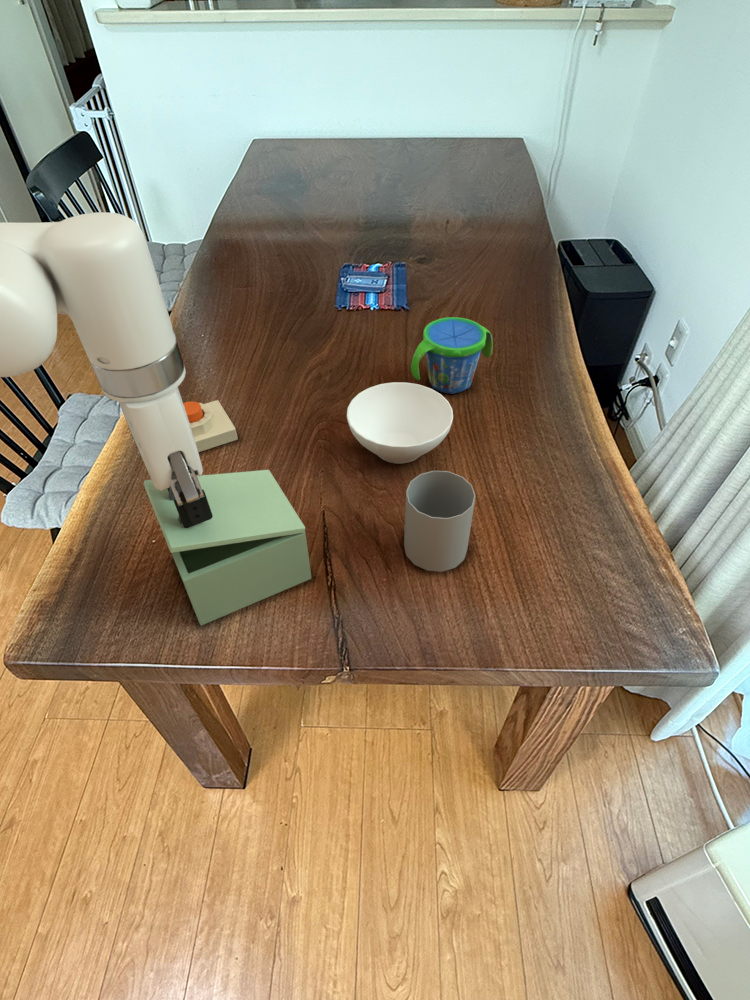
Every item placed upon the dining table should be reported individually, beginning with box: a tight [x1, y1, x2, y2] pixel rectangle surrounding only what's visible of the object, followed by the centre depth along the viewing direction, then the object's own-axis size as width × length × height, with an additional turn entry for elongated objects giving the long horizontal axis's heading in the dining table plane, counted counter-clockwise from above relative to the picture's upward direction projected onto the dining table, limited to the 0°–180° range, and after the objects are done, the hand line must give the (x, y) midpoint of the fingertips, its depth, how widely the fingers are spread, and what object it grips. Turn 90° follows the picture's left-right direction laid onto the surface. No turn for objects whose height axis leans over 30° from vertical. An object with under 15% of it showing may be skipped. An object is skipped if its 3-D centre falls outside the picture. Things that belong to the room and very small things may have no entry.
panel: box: [190, 399, 239, 453], centre depth 96 cm, size 11×9×4 cm
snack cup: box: [410, 316, 494, 395], centre depth 103 cm, size 16×10×10 cm
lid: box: [143, 469, 306, 554], centre depth 68 cm, size 15×12×6 cm
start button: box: [183, 400, 203, 423], centre depth 94 cm, size 4×4×2 cm
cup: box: [403, 470, 477, 573], centre depth 76 cm, size 8×8×10 cm
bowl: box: [346, 381, 454, 465], centre depth 92 cm, size 16×16×7 cm
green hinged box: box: [171, 531, 312, 627], centre depth 74 cm, size 15×12×9 cm
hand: (190, 503), depth 66 cm, fingers closed on lid, 5 cm apart
